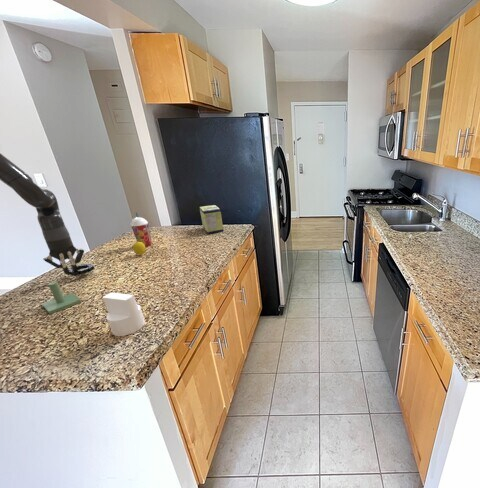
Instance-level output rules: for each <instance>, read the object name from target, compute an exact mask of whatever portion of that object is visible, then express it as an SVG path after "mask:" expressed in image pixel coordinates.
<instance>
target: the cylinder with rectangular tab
mask: <svg viewBox="0 0 480 488" xmlns="http://www.w3.org/2000/svg"><path fill="white" fill-rule="evenodd" d="M102 299H103V302H104V304H105V307H106V310H107V312H108V313H107V315H106V320H107V323H108V325H109V328H110V331H111V333H112V335H113V336H115V337H125V336H129V335H131V334H134V333H136V332H138V331H139V330H140V329H142V328H143V327H144V326H145V324H146V320H145V317H144V313H143V311H142V307H141V305H140V304H137V301H136V300H137V299H136V297H135V295H134V294H128V293H120V292H109V293H107V294H105V295H104V296H102Z"/></svg>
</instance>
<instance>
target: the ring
mask: <svg viewBox="0 0 480 488" xmlns="http://www.w3.org/2000/svg"><path fill="white" fill-rule="evenodd" d="M76 266H77V269H78V270H77V271H74V270H72V267H70V268H68V269H69V272H70V275H69V276H80V275H84V274H88V273H90V272H92V271H93V270H95V266H94V265H93V264H92V263H83V264H77V265H76Z"/></svg>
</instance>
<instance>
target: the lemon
mask: <svg viewBox="0 0 480 488" xmlns="http://www.w3.org/2000/svg"><path fill="white" fill-rule="evenodd" d="M132 250H133V252H134V253H135V254H136V255H139V256H143V254H145V253H146V251H147V248H146V247H145V245H144V244H143V243H142V242H138V241H137V240H136V241H135V242H134V243H133V245H132Z"/></svg>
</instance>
